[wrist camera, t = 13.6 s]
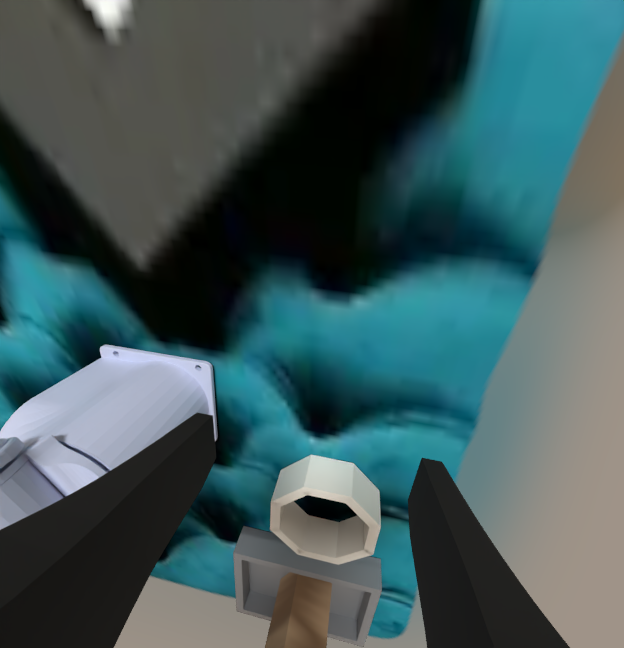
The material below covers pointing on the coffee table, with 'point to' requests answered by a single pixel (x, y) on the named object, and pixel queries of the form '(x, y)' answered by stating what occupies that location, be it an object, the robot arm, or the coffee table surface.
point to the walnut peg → (300, 613)
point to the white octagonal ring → (318, 533)
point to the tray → (279, 559)
